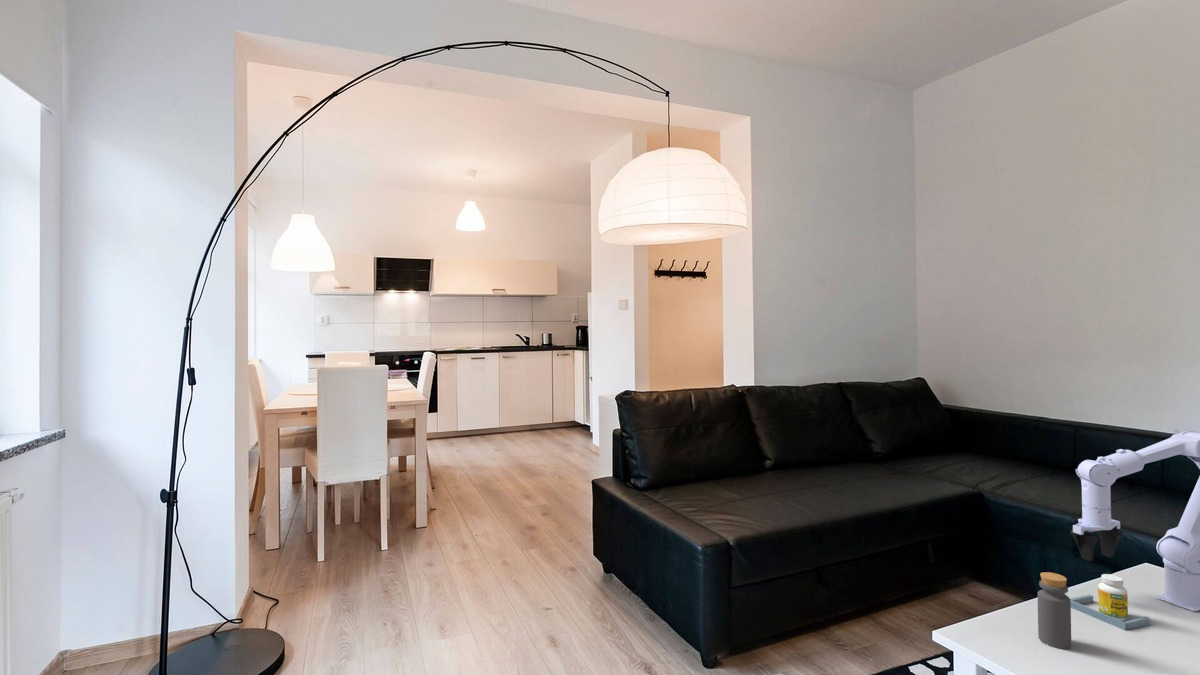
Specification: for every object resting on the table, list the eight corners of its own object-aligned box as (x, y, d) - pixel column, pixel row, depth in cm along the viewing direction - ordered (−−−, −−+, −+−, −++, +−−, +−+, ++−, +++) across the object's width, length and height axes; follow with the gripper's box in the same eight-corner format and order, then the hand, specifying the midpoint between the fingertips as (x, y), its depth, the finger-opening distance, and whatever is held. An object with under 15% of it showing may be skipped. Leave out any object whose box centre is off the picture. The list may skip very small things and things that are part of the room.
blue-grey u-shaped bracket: (1089, 600, 146) (1089, 594, 146) (1149, 624, 133) (1149, 618, 133) (1066, 605, 143) (1066, 599, 143) (1125, 630, 131) (1125, 623, 131)
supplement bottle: (1115, 610, 140) (1114, 572, 140) (1134, 621, 135) (1133, 582, 135) (1092, 610, 140) (1092, 572, 140) (1110, 621, 135) (1109, 581, 135)
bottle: (1059, 635, 129) (1057, 571, 129) (1078, 649, 123) (1076, 582, 123) (1032, 634, 130) (1030, 570, 130) (1050, 648, 124) (1048, 581, 124)
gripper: (1098, 499, 153) (1099, 549, 153) (1060, 505, 149) (1061, 555, 149) (1129, 507, 146) (1130, 558, 146) (1089, 513, 142) (1090, 566, 142)
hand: (1097, 557), depth 147 cm, fingers open, 7 cm apart
